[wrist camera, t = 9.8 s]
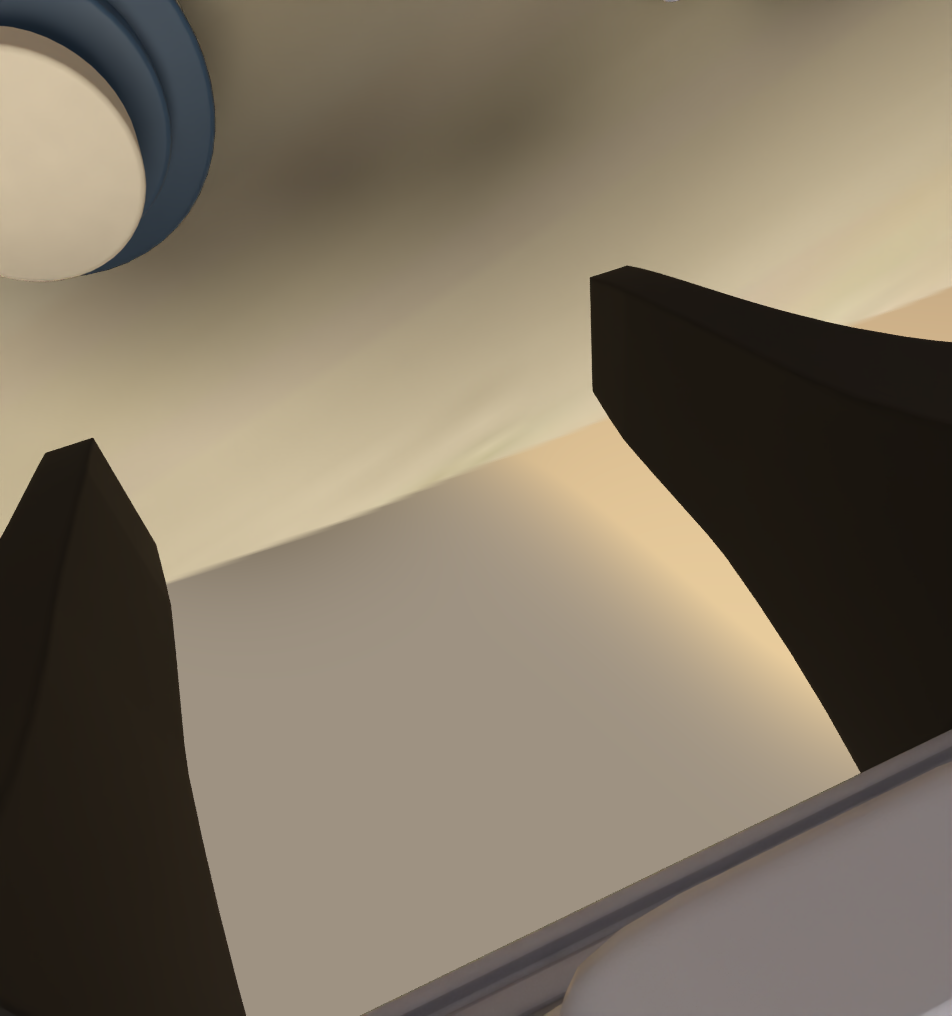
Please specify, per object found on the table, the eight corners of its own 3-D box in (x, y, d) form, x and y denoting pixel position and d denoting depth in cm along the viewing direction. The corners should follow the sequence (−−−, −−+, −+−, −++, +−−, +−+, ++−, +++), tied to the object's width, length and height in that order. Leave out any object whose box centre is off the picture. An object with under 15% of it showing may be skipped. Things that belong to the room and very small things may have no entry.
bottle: (103, -186, 14) (152, -160, 8) (211, 121, 17) (301, 303, 11) (-214, -123, 13) (-441, -39, 7) (-32, 187, 16) (-76, 423, 10)
